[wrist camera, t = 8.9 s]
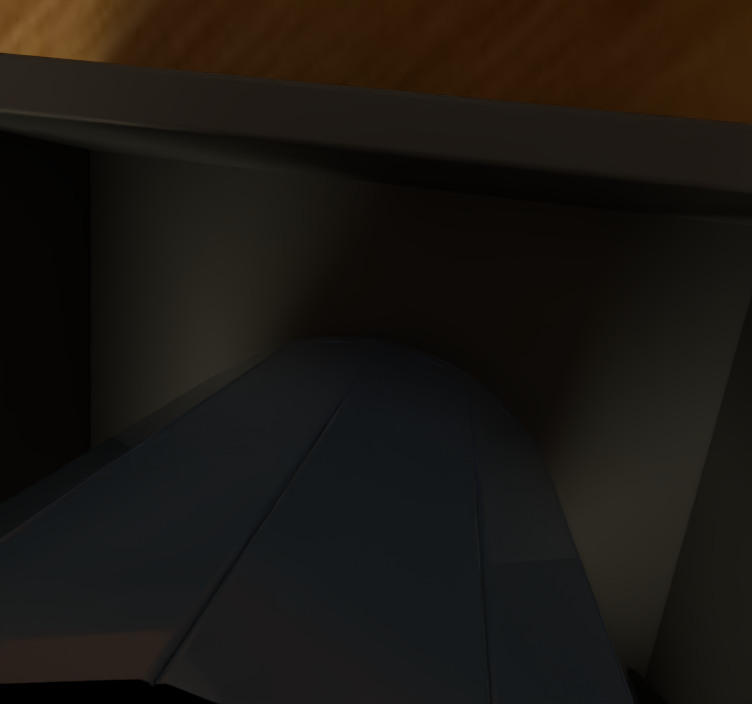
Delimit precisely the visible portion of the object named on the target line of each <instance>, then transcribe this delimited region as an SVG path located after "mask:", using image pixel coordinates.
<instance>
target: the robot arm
mask: <svg viewBox="0 0 752 704" xmlns="http://www.w3.org/2000/svg"><path fill="white" fill-rule="evenodd" d="M626 667H627V670H628V672H629V675H630V678H631V680H632V683H633V686H634V688H635V691H636V693H637V696H638V699H639V701H640V704H668V703H667V702H666V700H665V699H664V698H663V697H662V696H661V695H660V694H659V693H658V692H657V691H656V690H655V689H654V688H653V687H652V686H651V685H650V684H649V683H648V682H647V681H646V680H645V679H644V678H643V677H642V676H641V675H640V674H639V673H638V672H637V671H636V670H635V669H634V668H632V667H629V666H626Z"/></svg>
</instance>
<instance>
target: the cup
mask: <svg viewBox="0 0 752 704" xmlns="http://www.w3.org/2000/svg"><path fill="white" fill-rule="evenodd" d="M0 704H640V701H639V699H638V696H637V693H636V691H635V688H634V686H633V683H632V680H631V678H630V675H629V672H628V670H627V667H626V665H625V662H624V659H623V657H622V654H621V651H620V649H619V646H618V644H617V641H616V638H615V636H614V633H613V630H612V628H611V625H610V623H609V620H608V617H607V615H606V612H605V610H604V607H603V604H602V602H601V599H600V596H599V594H598V591H597V589H596V586H595V583H594V581H593V578H592V575H591V573H590V570H589V568H588V565H587V562H586V560H585V557H584V555H583V552H582V549H581V547H580V544H579V541H578V539H577V536H576V534H575V531H574V528H573V526H572V523H571V521H570V518H569V516H568V513H567V511H566V509H565V506H564V504H563V502H562V499H561V497H560V494H559V492H558V490H557V487H556V485H555V482H554V479H553V477H552V474H551V471H550V469H549V467H548V465H547V463H546V461H545V459H544V456H543V454H542V451H541V449H540V447H539V446H538V445H537V443H536V441H535V440H534V439H533V438H532V437H531V435H530V434H529V432H528V431H527V430H526V428H525V427H524V425H523V424H522V422H521V421H520V420H519V419H518V418H517V417H516V416H515V415H514V414H513V412H512V411H511V410H510V409H509V408H508V407H507V406H506V405H505V404H504V403H503V401H502V400H500V399H499V398H498V397H497V396H496V395H495V394H493V393H492V392H491V391H490V390H489V389H487V388H486V387H485V386H484V385H483V384H481V383H480V382H479V381H478V380H476V379H474V378H473V377H471V376H470V375H468V374H467V373H465V372H464V371H462V370H460V369H459V368H457V367H456V366H454V365H452V364H450V363H448V362H446V361H444V360H442V359H440V358H438V357H435V356H433V355H431V354H429V353H427V352H424V351H421V350H418V349H415V348H412V347H409V346H406V345H403V344H400V343H395V342H390V341H384V340H379V339H374V338H366V337H349V336H335V337H321V338H311V339H306V340H301V341H296V342H292V343H287V344H284V345H281V346H278V347H275V348H272V349H270V350H267V351H264V352H261V353H259V354H257V355H255V356H253V357H251V358H249V359H248V360H246V361H244V362H242V363H240V364H238V365H236V366H234V367H232V368H230V369H227V370H225V371H223V372H220V373H218V374H216V375H214V376H212V377H210V378H209V379H207V380H205V381H204V382H202V383H200V384H199V385H197V386H195V387H194V388H192V389H190V390H189V391H187V392H185V393H184V394H182V395H180V396H179V397H177V398H176V399H174V400H172V401H171V402H169V403H167V404H166V405H164V406H162V407H161V408H159V409H157V410H156V411H154V412H152V413H151V414H149V415H147V416H146V417H144V418H142V419H141V420H139V421H138V422H136V423H134V424H133V425H131V426H129V427H128V428H126V429H124V430H123V431H121V432H119V433H118V434H116V435H114V436H113V437H111V438H109V439H108V440H106V441H104V442H103V443H101V444H99V445H98V446H96V447H95V448H93V449H91V450H90V451H88V452H86V453H85V454H83V455H81V456H80V457H78V458H76V459H75V460H73V461H71V462H70V463H68V464H66V465H65V466H63V467H61V468H60V469H58V470H56V471H55V472H53V473H52V474H50V475H48V476H47V477H45V478H43V479H42V480H40V481H38V482H37V483H35V484H33V485H32V486H30V487H28V488H27V489H25V490H23V491H22V492H20V493H18V494H17V495H15V496H13V497H12V498H10V499H9V500H7V501H5V502H4V503H2V504H0Z"/></svg>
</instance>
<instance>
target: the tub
mask: <svg viewBox="0 0 752 704" xmlns="http://www.w3.org/2000/svg"><path fill="white" fill-rule="evenodd" d="M335 336H349V337H366V338H374V339H379V340H384V341H390V342H395V343H400V344H403V345H406V346H409V347H412V348H415V349H418V350H421V351H424V352H427V353H429V354H431V355H433V356H435V357H438V358H440V359H442V360H444V361H446V362H448V363H450V364H452V365H454V366H456V367H457V368H459V369H460V370H462V371H464V372H465V373H467V374H468V375H470V376H471V377H473V378H474V379H476V380H478V381H479V382H480V383H481V384H483V385H484V386H485V387H486V388H487V389H489V390H490V391H491V392H492V393H493V394H495V395H496V396H497V397H498V398H499V399H500V400H502V401H503V403H504V404H505V405H506V406H507V407H508V408H509V409H510V410H511V411H512V412H513V414H514V415H515V416H516V417H517V418H518V419H519V420H520V421H521V422H522V424H523V425H524V427H525V428H526V430H527V431H528V432H529V434H530V435H531V437H532V438H533V439H534V440H535V441H536V443H537V445H538V446H539V447H540V449H541V451H542V454H543V456H544V459H545V461H546V463H547V465H548V467H549V469H550V471H551V474H552V477H553V479H554V482H555V485H556V487H557V490H558V492H559V494H560V497H561V499H562V502H563V504H564V506H565V509H566V511H567V513H568V516H569V518H570V521H571V523H572V526H573V528H574V531H575V534H576V536H577V539H578V541H579V544H580V547H581V549H582V552H583V555H584V557H585V560H586V562H587V565H588V568H589V570H590V573H591V575H592V578H593V581H594V583H595V586H596V589H597V591H598V594H599V596H600V599H601V602H602V604H603V607H604V610H605V612H606V615H607V617H608V620H609V623H610V625H611V628H612V630H613V633H614V636H615V638H616V641H617V644H618V646H619V649H620V651H621V654H622V657H623V659H624V662H625V665H626V666H629V667H632V668H634V669H635V670H636V671H637V672H638V673H639V674H640V675H641V676H642V677H643V678H644V679H645V680H646V681H647V682H648V683H649V684H650V685H651V686H652V687H653V688H654V689H655V690H656V691H657V692H658V693H659V694H660V695H661V696H662V697H663V698H664V699H665V700H666V702H667V703H668V704H752V124H748V123H737V122H727V121H716V120H706V119H695V118H685V117H674V116H663V115H653V114H642V113H632V112H621V111H611V110H600V109H590V108H579V107H568V106H558V105H547V104H537V103H526V102H516V101H505V100H494V99H484V98H473V97H463V96H452V95H442V94H431V93H420V92H410V91H399V90H389V89H378V88H368V87H357V86H347V85H336V84H325V83H315V82H304V81H294V80H283V79H273V78H262V77H251V76H241V75H230V74H220V73H209V72H199V71H188V70H177V69H167V68H156V67H146V66H135V65H125V64H114V63H104V62H93V61H82V60H72V59H61V58H51V57H40V56H30V55H19V54H8V53H0V504H2V503H4V502H5V501H7V500H9V499H10V498H12V497H13V496H15V495H17V494H18V493H20V492H22V491H23V490H25V489H27V488H28V487H30V486H32V485H33V484H35V483H37V482H38V481H40V480H42V479H43V478H45V477H47V476H48V475H50V474H52V473H53V472H55V471H56V470H58V469H60V468H61V467H63V466H65V465H66V464H68V463H70V462H71V461H73V460H75V459H76V458H78V457H80V456H81V455H83V454H85V453H86V452H88V451H90V450H91V449H93V448H95V447H96V446H98V445H99V444H101V443H103V442H104V441H106V440H108V439H109V438H111V437H113V436H114V435H116V434H118V433H119V432H121V431H123V430H124V429H126V428H128V427H129V426H131V425H133V424H134V423H136V422H138V421H139V420H141V419H142V418H144V417H146V416H147V415H149V414H151V413H152V412H154V411H156V410H157V409H159V408H161V407H162V406H164V405H166V404H167V403H169V402H171V401H172V400H174V399H176V398H177V397H179V396H180V395H182V394H184V393H185V392H187V391H189V390H190V389H192V388H194V387H195V386H197V385H199V384H200V383H202V382H204V381H205V380H207V379H209V378H210V377H212V376H214V375H216V374H218V373H220V372H223V371H225V370H227V369H230V368H232V367H234V366H236V365H238V364H240V363H242V362H244V361H246V360H248V359H249V358H251V357H253V356H255V355H257V354H259V353H261V352H264V351H267V350H270V349H272V348H275V347H278V346H281V345H284V344H287V343H292V342H296V341H301V340H306V339H311V338H321V337H335Z"/></svg>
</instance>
